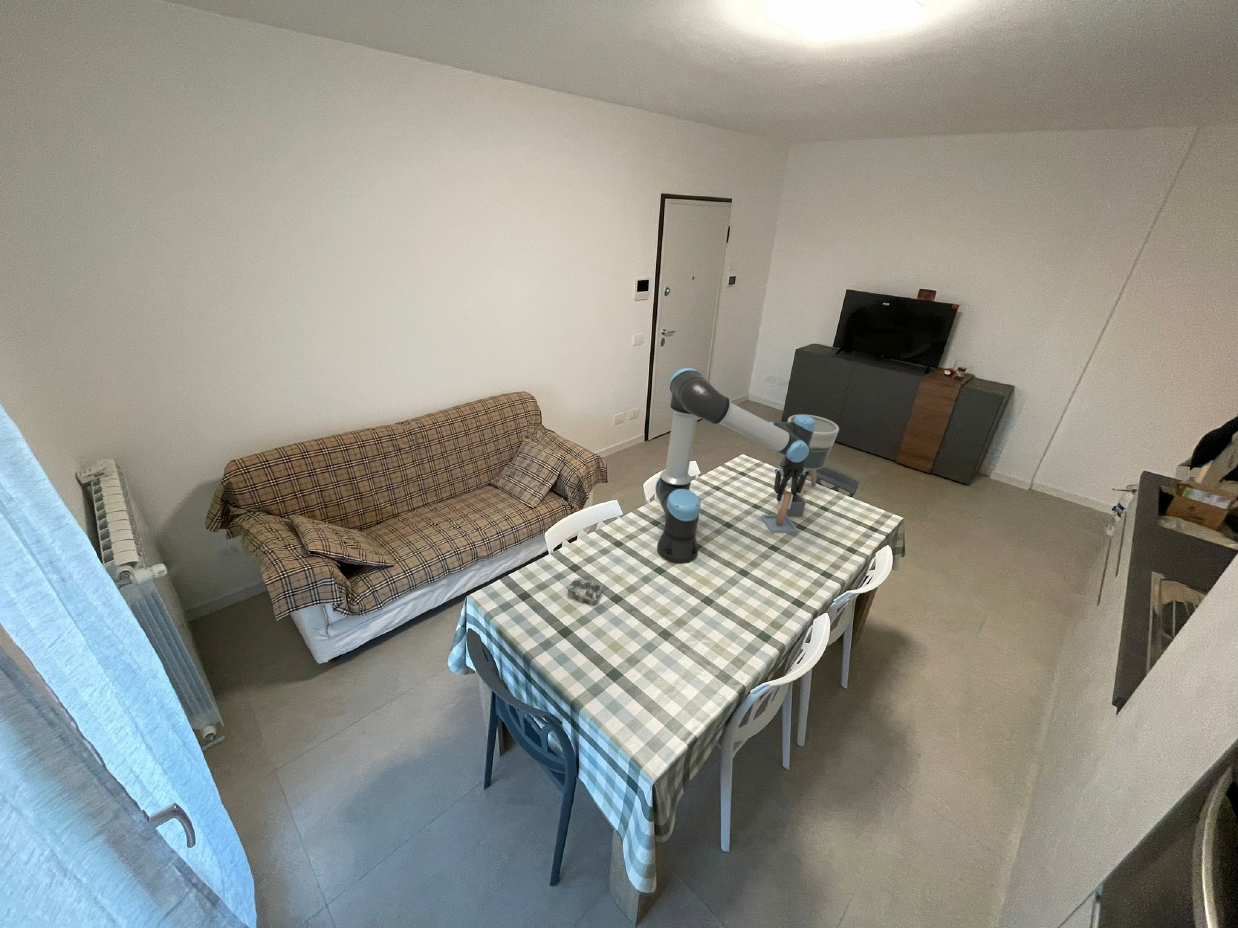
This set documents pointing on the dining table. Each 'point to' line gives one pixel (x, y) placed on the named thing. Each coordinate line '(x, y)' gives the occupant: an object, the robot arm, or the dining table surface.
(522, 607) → the dining table surface
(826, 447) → the planter
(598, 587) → the egg carton
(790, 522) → the tray
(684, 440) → the robot arm
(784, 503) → the dowel
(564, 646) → the dining table surface
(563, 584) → the dining table surface
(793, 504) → the pen pot
